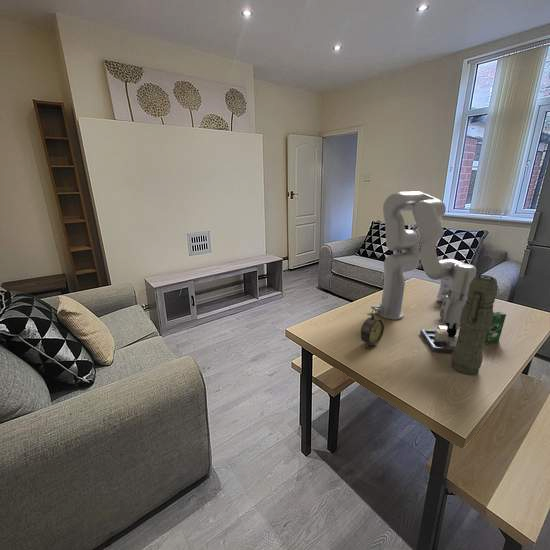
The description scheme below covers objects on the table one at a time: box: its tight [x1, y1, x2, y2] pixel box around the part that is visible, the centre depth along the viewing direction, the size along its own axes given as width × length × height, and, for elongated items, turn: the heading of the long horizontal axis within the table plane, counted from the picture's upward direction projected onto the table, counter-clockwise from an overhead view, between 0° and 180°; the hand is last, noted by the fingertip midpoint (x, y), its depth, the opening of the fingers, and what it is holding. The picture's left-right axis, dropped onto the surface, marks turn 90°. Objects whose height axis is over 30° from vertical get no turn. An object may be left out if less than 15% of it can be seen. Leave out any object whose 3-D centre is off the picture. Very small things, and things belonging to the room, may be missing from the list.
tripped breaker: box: [434, 328, 448, 342], centre depth 120 cm, size 4×3×5 cm
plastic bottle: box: [436, 277, 451, 303], centre depth 159 cm, size 6×7×20 cm
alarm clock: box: [360, 309, 385, 350], centre depth 119 cm, size 11×5×16 cm, turn 129°
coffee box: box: [484, 311, 507, 345], centre depth 120 cm, size 8×3×13 cm, turn 106°
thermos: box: [450, 274, 499, 377], centre depth 100 cm, size 9×12×35 cm
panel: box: [419, 324, 458, 355], centre depth 120 cm, size 11×15×5 cm
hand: (450, 335), depth 120 cm, fingers closed
